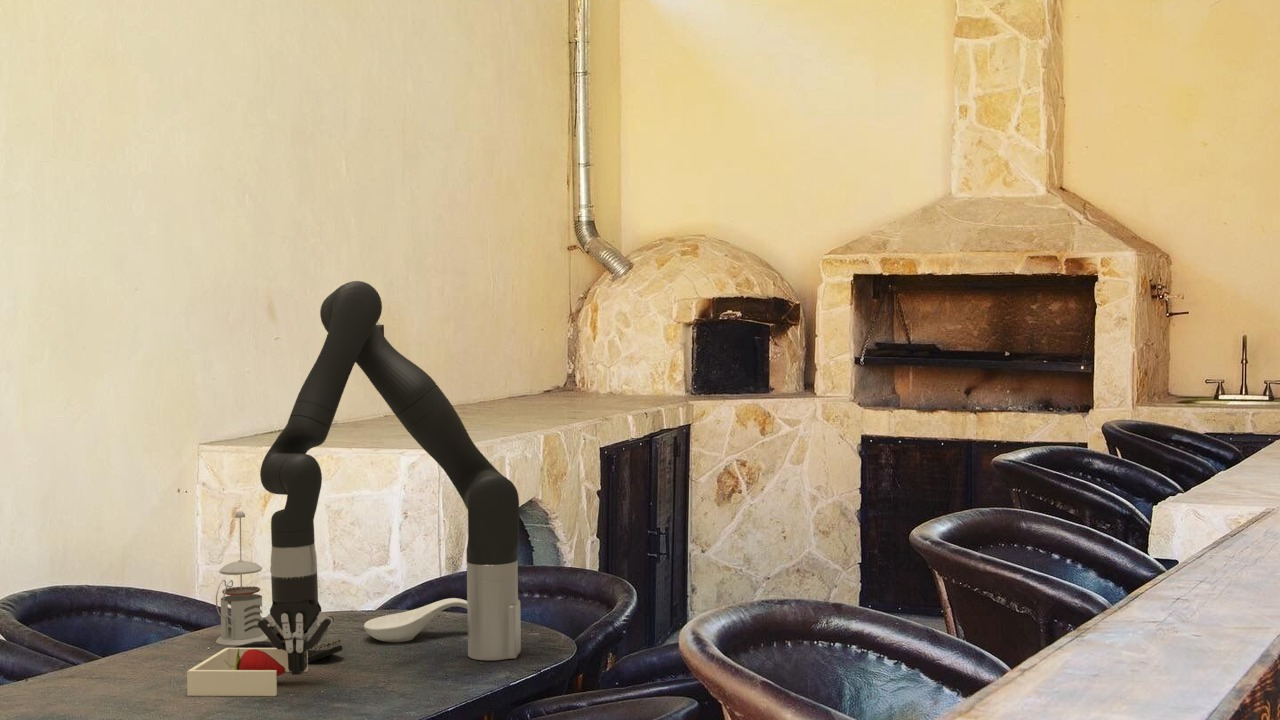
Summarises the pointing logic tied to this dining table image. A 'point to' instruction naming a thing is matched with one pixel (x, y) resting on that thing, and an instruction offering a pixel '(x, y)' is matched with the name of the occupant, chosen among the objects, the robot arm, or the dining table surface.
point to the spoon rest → (408, 621)
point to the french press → (240, 605)
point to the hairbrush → (311, 653)
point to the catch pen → (234, 675)
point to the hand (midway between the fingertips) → (297, 673)
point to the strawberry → (257, 662)
